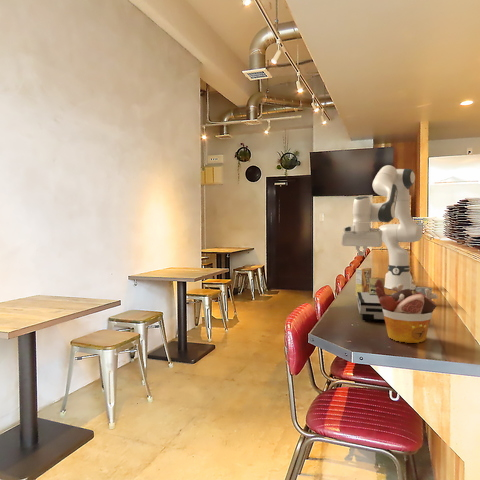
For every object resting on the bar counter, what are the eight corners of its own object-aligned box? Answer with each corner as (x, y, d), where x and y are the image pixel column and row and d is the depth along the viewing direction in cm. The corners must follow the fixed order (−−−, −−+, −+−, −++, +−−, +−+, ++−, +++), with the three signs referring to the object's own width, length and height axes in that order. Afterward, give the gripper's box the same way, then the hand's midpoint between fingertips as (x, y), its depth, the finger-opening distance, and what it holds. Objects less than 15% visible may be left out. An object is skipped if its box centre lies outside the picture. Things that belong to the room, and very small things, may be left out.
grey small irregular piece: (417, 302, 196) (417, 286, 196) (432, 304, 192) (433, 287, 191) (414, 304, 190) (414, 288, 190) (429, 306, 186) (430, 289, 186)
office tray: (403, 308, 183) (403, 291, 182) (416, 325, 152) (416, 304, 152) (357, 306, 188) (357, 289, 188) (360, 322, 157) (360, 302, 157)
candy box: (364, 294, 217) (364, 267, 217) (371, 295, 214) (371, 267, 213) (355, 296, 212) (355, 268, 211) (362, 297, 208) (362, 269, 208)
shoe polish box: (376, 300, 200) (376, 277, 200) (384, 302, 196) (384, 278, 195) (369, 301, 198) (369, 278, 197) (377, 303, 193) (377, 279, 193)
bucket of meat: (436, 335, 137) (436, 279, 136) (438, 349, 122) (439, 285, 121) (375, 329, 145) (376, 276, 144) (371, 342, 130) (371, 282, 129)
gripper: (384, 228, 196) (384, 255, 197) (345, 228, 209) (344, 254, 209) (380, 228, 191) (380, 256, 192) (340, 228, 204) (340, 254, 204)
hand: (361, 255), depth 201 cm, fingers closed
